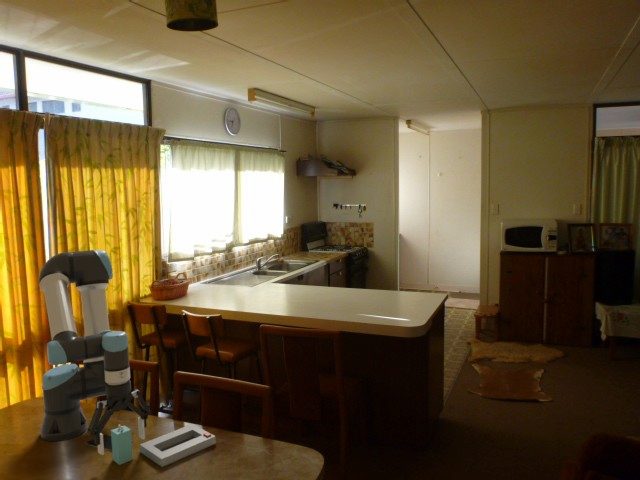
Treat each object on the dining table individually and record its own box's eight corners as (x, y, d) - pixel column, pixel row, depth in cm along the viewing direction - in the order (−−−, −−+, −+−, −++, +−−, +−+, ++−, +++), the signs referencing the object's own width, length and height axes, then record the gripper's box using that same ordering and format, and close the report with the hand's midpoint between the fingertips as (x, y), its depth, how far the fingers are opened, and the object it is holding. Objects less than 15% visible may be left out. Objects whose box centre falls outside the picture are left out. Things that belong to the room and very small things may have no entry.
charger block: (112, 460, 170) (110, 426, 168) (126, 454, 173) (124, 421, 172) (119, 464, 166) (117, 430, 165) (132, 459, 170) (130, 425, 168)
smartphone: (102, 433, 187) (134, 441, 181) (102, 435, 187) (134, 443, 181) (84, 443, 180) (117, 451, 174) (84, 445, 180) (117, 453, 174)
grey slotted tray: (140, 452, 174) (139, 442, 174) (192, 431, 188) (192, 422, 188) (162, 467, 164) (161, 457, 164) (215, 444, 179) (215, 434, 178)
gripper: (82, 395, 155) (87, 464, 157) (159, 373, 173) (163, 435, 175) (72, 389, 160) (77, 456, 162) (148, 368, 178) (152, 428, 180)
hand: (122, 445), depth 169 cm, fingers open, 13 cm apart
